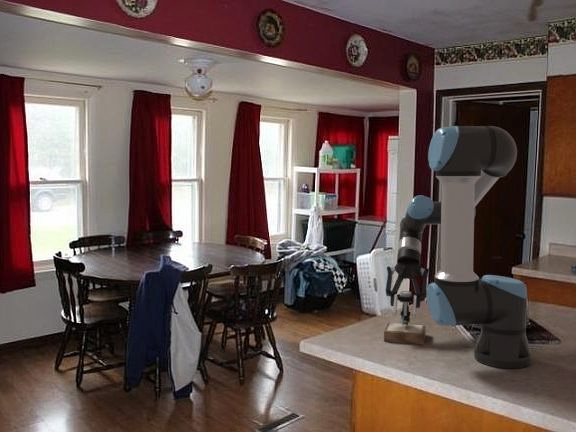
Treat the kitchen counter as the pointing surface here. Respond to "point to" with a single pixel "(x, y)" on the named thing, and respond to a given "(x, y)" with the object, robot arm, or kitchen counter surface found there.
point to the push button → (405, 305)
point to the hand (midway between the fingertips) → (404, 315)
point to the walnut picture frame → (405, 333)
